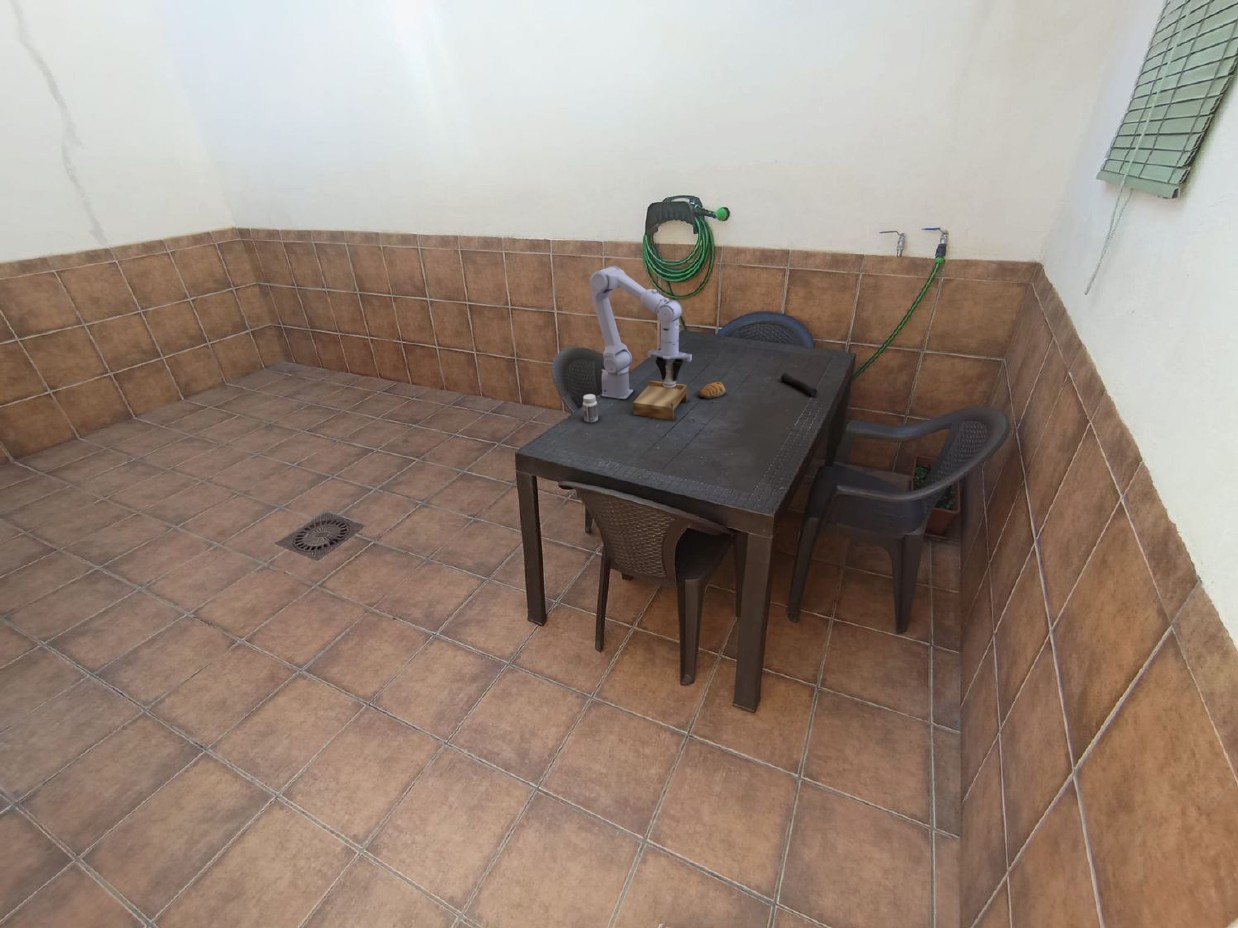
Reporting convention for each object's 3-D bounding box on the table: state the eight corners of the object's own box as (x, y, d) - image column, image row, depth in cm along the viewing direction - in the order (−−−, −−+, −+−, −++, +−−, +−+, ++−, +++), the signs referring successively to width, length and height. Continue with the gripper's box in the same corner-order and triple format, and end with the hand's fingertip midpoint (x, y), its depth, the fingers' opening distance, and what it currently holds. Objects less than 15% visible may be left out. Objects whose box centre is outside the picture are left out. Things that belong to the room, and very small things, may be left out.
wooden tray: (633, 414, 189) (632, 398, 186) (649, 395, 201) (649, 380, 198) (672, 420, 184) (673, 403, 181) (687, 400, 196) (687, 385, 193)
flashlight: (787, 379, 209) (788, 372, 207) (817, 395, 196) (818, 387, 194) (780, 381, 208) (781, 373, 206) (810, 397, 195) (811, 389, 193)
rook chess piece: (678, 384, 190) (678, 362, 186) (673, 389, 187) (673, 366, 183) (665, 382, 192) (665, 360, 188) (660, 387, 189) (660, 365, 185)
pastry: (708, 401, 195) (708, 391, 193) (694, 395, 200) (694, 385, 198) (726, 393, 200) (727, 383, 198) (712, 388, 205) (713, 378, 203)
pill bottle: (600, 417, 188) (598, 394, 184) (595, 423, 184) (593, 400, 180) (587, 415, 189) (585, 392, 185) (581, 421, 186) (579, 398, 181)
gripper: (644, 342, 181) (645, 381, 188) (687, 346, 176) (686, 386, 183) (652, 335, 186) (652, 373, 193) (694, 339, 181) (693, 378, 188)
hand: (669, 379), depth 188 cm, fingers closed on rook chess piece, 3 cm apart
